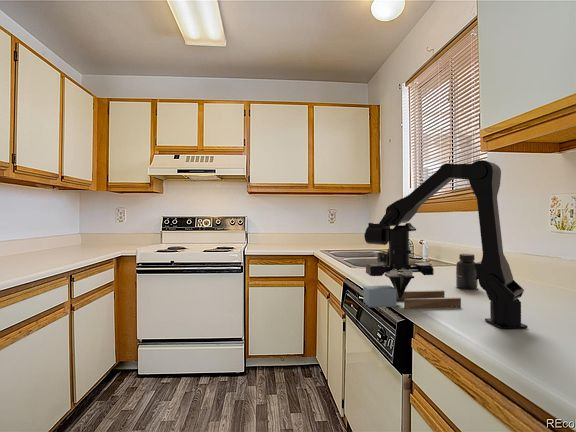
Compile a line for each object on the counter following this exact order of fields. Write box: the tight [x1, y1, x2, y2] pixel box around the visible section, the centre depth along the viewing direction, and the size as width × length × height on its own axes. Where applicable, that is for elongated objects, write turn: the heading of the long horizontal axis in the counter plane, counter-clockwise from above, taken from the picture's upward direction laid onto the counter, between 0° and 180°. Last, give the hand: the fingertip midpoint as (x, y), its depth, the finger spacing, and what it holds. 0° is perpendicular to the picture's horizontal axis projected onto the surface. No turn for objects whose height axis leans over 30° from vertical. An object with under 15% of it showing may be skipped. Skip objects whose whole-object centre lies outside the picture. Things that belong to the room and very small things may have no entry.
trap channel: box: [396, 289, 462, 309], centre depth 103 cm, size 10×16×2 cm, turn 93°
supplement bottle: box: [455, 253, 479, 291], centre depth 123 cm, size 7×7×12 cm
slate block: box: [362, 284, 397, 308], centre depth 102 cm, size 6×8×5 cm
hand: (399, 298), depth 103 cm, fingers closed
